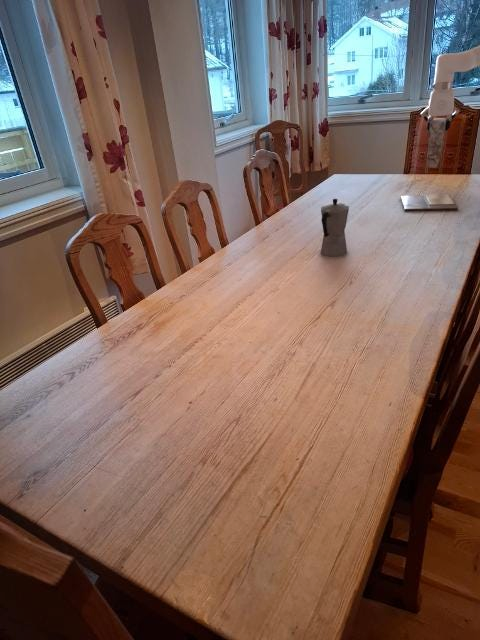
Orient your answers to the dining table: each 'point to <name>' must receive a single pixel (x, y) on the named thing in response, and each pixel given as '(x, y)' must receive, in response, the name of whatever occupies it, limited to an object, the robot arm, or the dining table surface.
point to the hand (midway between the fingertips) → (437, 130)
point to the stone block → (435, 141)
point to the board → (428, 203)
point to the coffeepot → (334, 229)
